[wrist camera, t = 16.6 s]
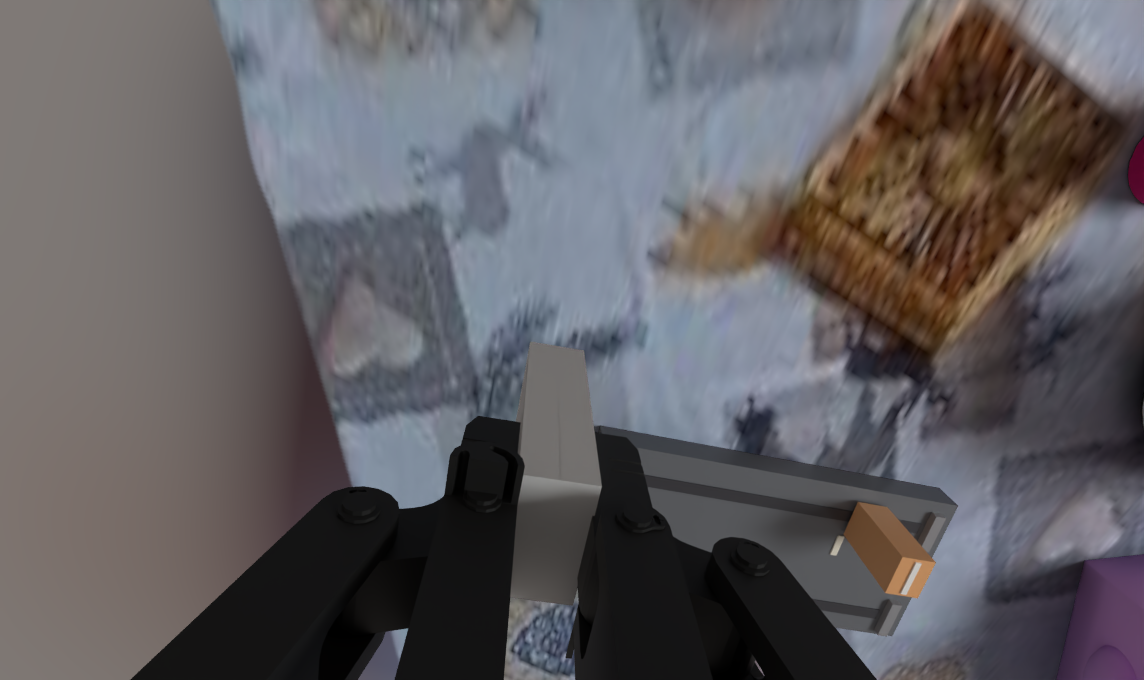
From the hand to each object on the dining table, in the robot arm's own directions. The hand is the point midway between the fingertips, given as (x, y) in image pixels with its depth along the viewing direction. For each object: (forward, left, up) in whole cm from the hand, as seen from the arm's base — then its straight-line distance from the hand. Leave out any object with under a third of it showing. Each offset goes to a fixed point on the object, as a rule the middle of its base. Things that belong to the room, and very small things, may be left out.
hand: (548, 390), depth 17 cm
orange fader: (+16, +28, -23) cm, 40 cm away
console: (+20, +21, -26) cm, 39 cm away
